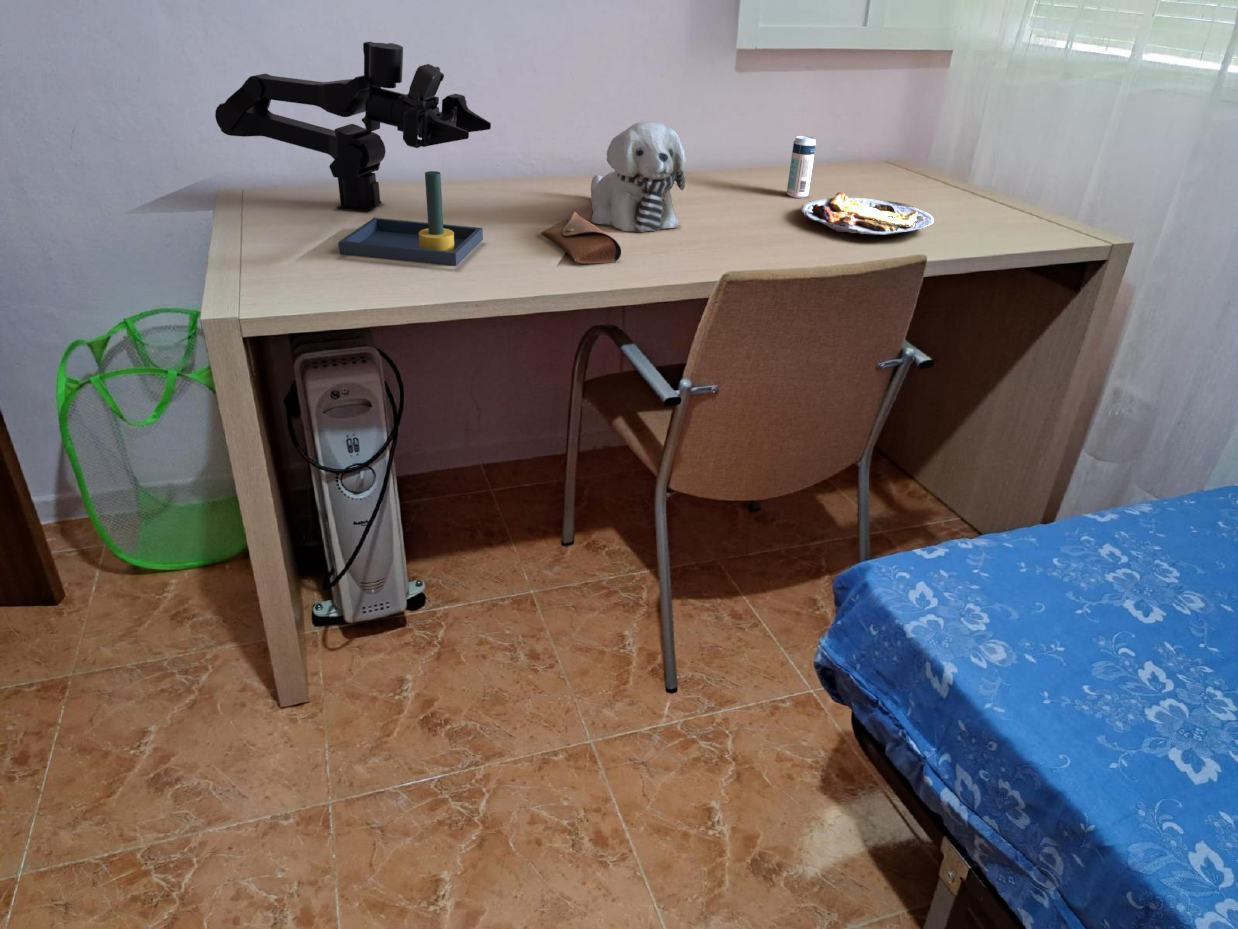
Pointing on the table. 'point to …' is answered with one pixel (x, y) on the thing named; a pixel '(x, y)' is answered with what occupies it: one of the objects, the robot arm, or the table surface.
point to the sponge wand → (435, 217)
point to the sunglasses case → (583, 241)
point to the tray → (407, 242)
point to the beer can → (801, 166)
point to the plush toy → (640, 179)
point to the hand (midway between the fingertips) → (479, 130)
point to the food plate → (865, 215)
